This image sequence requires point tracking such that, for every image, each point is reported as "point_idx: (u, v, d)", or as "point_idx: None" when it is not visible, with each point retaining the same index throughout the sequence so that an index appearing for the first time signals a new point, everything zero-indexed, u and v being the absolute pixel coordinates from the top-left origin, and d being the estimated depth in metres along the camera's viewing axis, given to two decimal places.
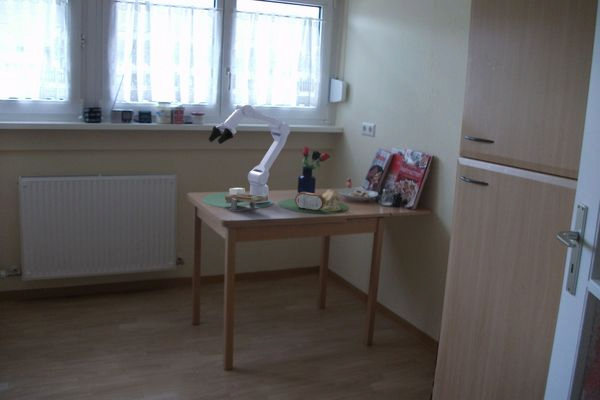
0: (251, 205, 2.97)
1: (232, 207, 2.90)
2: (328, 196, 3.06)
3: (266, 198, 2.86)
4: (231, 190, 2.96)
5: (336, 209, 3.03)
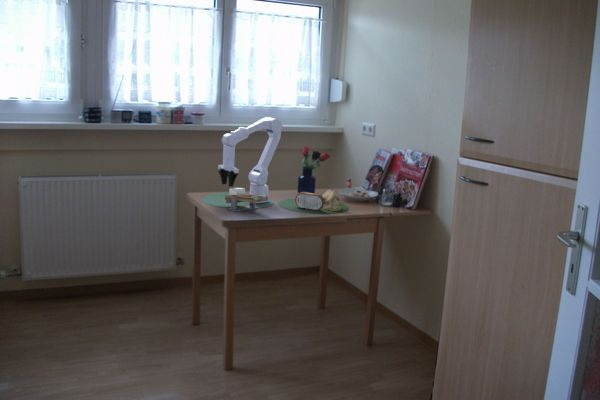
0: (251, 205, 2.97)
1: (232, 207, 2.90)
2: (328, 196, 3.06)
3: (266, 198, 2.86)
4: (231, 190, 2.96)
5: (337, 209, 3.04)
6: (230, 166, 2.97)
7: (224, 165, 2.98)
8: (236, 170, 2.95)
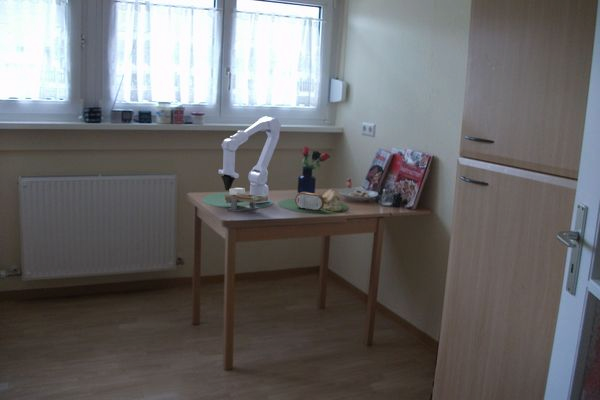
0: (251, 205, 2.97)
1: (232, 207, 2.90)
2: (329, 196, 3.06)
3: (266, 198, 2.86)
4: (231, 190, 2.96)
5: (337, 209, 3.04)
6: (230, 171, 2.98)
7: (224, 170, 2.98)
8: (236, 175, 2.95)
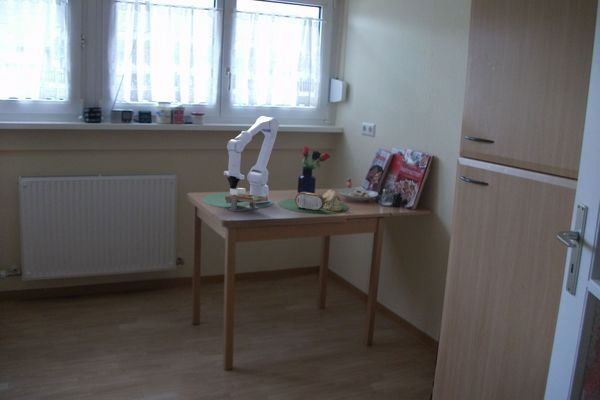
0: (251, 205, 2.97)
1: (232, 207, 2.90)
2: (329, 196, 3.06)
3: (266, 198, 2.86)
4: (232, 190, 2.95)
5: (338, 209, 3.04)
6: (236, 172, 2.94)
7: (230, 171, 2.95)
8: (242, 176, 2.92)
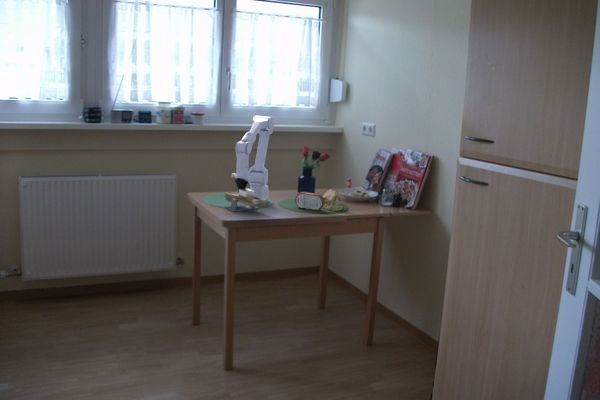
0: None
1: (232, 207, 2.90)
2: (330, 196, 3.07)
3: (266, 202, 2.86)
4: (240, 191, 2.90)
5: (338, 209, 3.04)
6: (244, 175, 2.90)
7: (238, 173, 2.90)
8: (250, 179, 2.87)
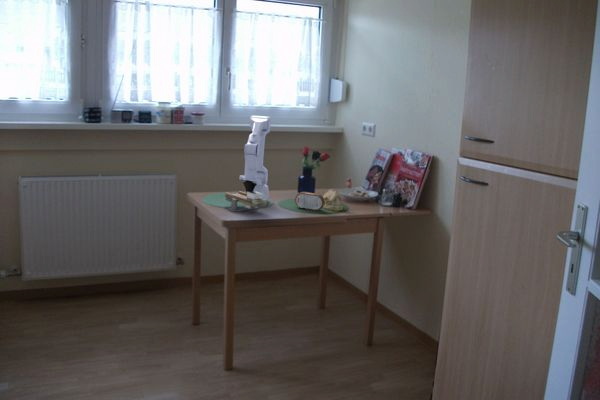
0: None
1: (232, 207, 2.90)
2: (331, 196, 3.07)
3: (266, 202, 2.86)
4: (249, 194, 2.85)
5: (339, 209, 3.05)
6: (252, 177, 2.85)
7: (246, 176, 2.85)
8: (259, 181, 2.82)
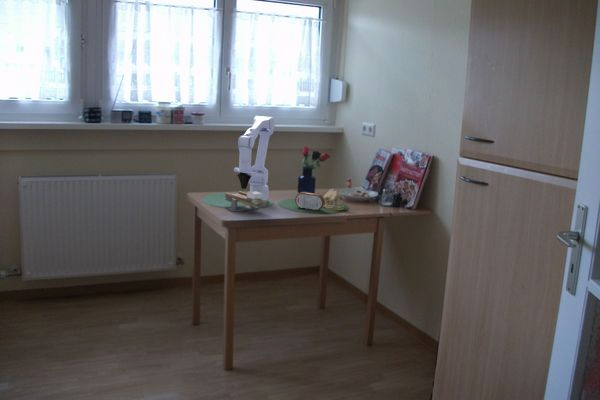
0: None
1: (232, 207, 2.90)
2: (332, 196, 3.07)
3: (266, 202, 2.86)
4: (249, 194, 2.85)
5: (340, 208, 3.05)
6: (247, 169, 2.89)
7: (240, 168, 2.90)
8: (253, 173, 2.87)
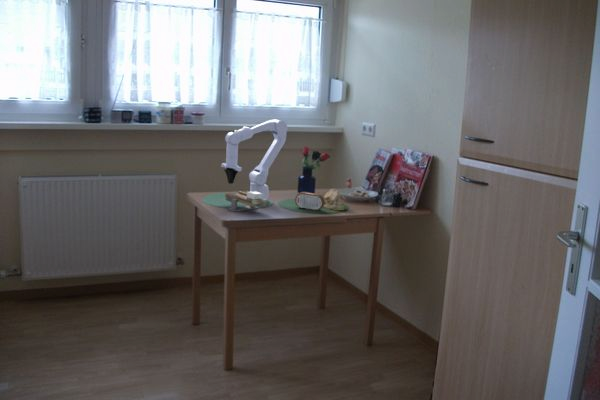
0: None
1: (232, 207, 2.90)
2: (332, 195, 3.08)
3: (266, 202, 2.86)
4: (249, 194, 2.85)
5: (341, 208, 3.06)
6: (233, 164, 3.00)
7: (227, 163, 3.01)
8: (239, 168, 2.98)
